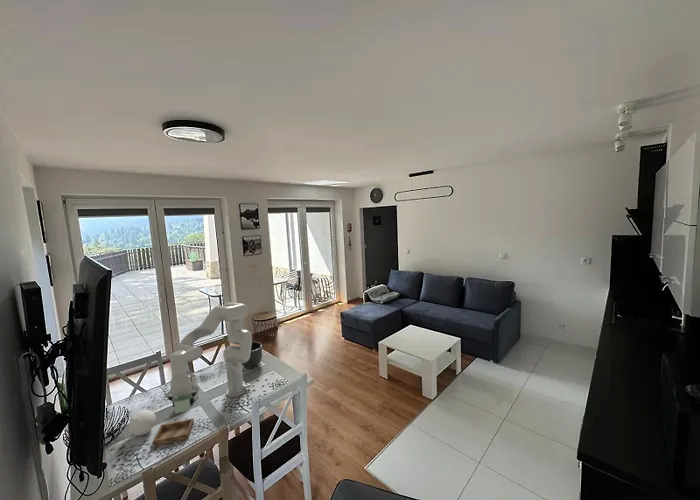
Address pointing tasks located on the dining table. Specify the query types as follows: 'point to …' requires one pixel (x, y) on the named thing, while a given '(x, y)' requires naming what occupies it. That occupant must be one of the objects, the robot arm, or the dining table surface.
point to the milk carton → (194, 385)
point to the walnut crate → (173, 432)
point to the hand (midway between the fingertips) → (183, 405)
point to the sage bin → (182, 404)
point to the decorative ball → (142, 422)
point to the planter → (254, 356)
